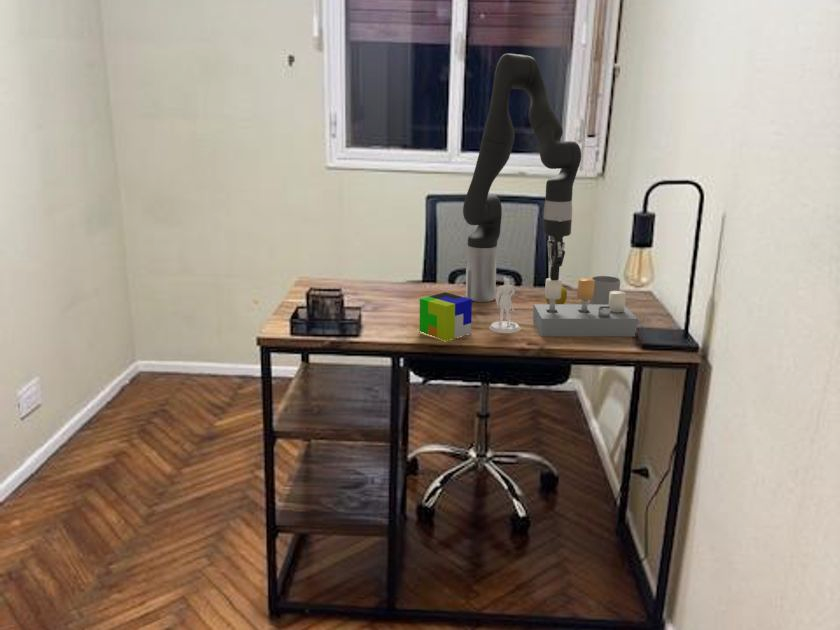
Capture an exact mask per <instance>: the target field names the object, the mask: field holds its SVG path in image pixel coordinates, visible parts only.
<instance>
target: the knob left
mask: <svg viewBox="0 0 840 630" xmlns="http://www.w3.org/2000/svg"><path fill="white" fill-rule="evenodd" d="M562 283H563V279H562V278H559V279H558V280H551V279H550V277H548V278H546V279H545V287H544V288H545V289H544V298H545V299H546V298H547V299H550V305H549V312H555V302H556V299H560V298H561V288H562V286H563V285H562Z"/></svg>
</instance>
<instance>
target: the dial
mask: <svg viewBox="0 0 840 630" xmlns="http://www.w3.org/2000/svg"><path fill="white" fill-rule="evenodd" d="M610 312H611V308H610V307H609V306H600V307H599V311H598V316H599V317H602V318H609V317H610Z"/></svg>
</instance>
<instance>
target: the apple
mask: <svg viewBox="0 0 840 630" xmlns="http://www.w3.org/2000/svg"><path fill="white" fill-rule="evenodd" d="M567 292H568V291H567V289H566V288H565V287H564V286H563V285H562V288H561V298H560V299H556V302H555V304H566V300H567V298H568V293H567ZM545 300H546V303H547V304H550V299H547V298H545Z"/></svg>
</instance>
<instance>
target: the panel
mask: <svg viewBox="0 0 840 630" xmlns="http://www.w3.org/2000/svg"><path fill="white" fill-rule="evenodd" d="M549 305H550V304H546V303H545V304H541V303H540V304H539V303H537V304H535V303H533V312H532V322H533V323H534V327H536V329H537V331H538V333H539V336H541V337H636V336H635V333H636V334H637V332H638V331H637V329H638V318H637V317H636V315H634V313H633V312H631V310H630V309H628V308H627V307H626V305H625V310H624V312H619V313H613V312H610V317H609V318H602V317H599V316H598V311H599V307H600V306H609V304H590V303H588V305H587V312H581V307H582V303H581V304H577V303H576V304H572V303H571V304H566V303H564V304H555V312H549Z"/></svg>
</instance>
